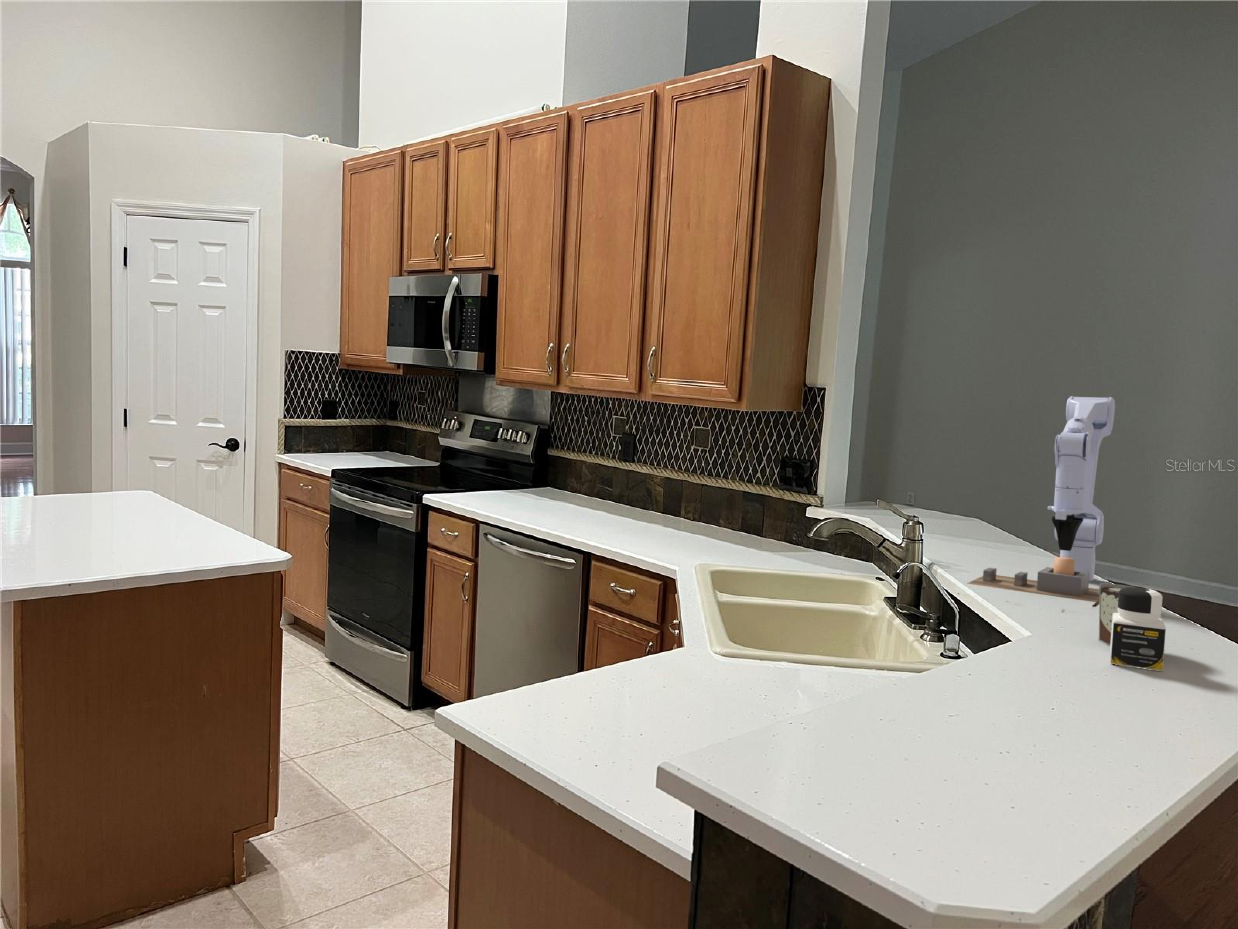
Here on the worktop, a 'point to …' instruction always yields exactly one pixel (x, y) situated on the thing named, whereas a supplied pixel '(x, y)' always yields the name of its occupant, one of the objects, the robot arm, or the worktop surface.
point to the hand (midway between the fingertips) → (1065, 550)
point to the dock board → (1027, 585)
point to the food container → (1107, 609)
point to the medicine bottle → (1138, 629)
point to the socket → (1063, 582)
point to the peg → (1064, 565)
